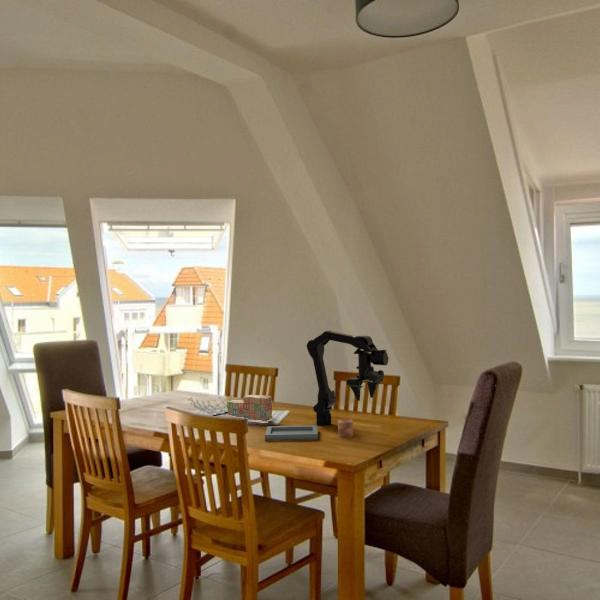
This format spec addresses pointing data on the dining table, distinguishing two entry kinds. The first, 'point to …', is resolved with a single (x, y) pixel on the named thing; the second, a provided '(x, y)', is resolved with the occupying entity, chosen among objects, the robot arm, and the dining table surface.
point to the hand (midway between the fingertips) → (365, 399)
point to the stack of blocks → (251, 407)
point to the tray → (291, 433)
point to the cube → (345, 428)
